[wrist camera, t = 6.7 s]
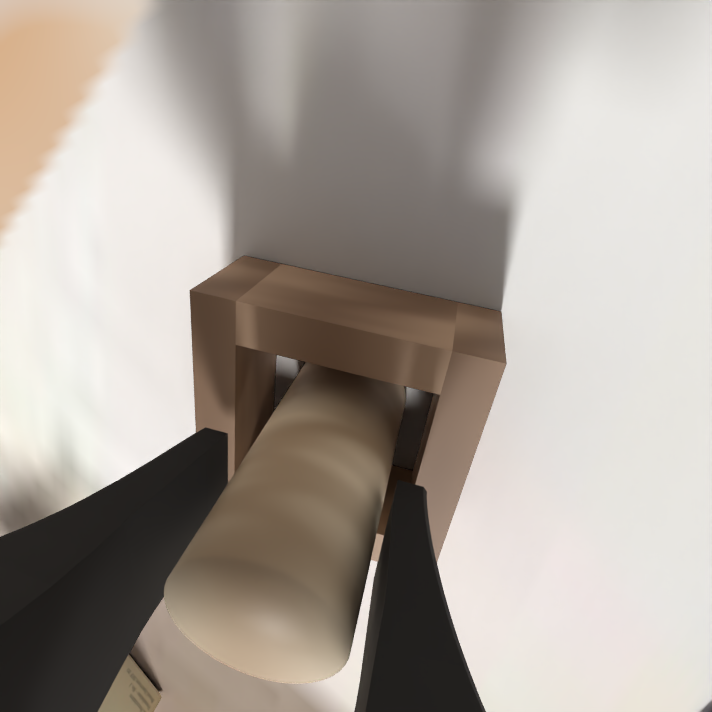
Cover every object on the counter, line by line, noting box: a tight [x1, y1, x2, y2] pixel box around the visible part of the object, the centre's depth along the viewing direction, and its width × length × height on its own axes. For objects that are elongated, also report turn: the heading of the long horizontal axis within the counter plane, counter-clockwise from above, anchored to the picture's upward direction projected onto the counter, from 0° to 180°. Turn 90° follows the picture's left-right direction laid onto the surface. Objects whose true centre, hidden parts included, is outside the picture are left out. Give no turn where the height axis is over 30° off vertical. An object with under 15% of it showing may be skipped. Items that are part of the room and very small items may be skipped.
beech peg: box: [164, 362, 406, 684], centre depth 12 cm, size 4×4×8 cm
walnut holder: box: [190, 256, 506, 562], centre depth 14 cm, size 8×8×3 cm
